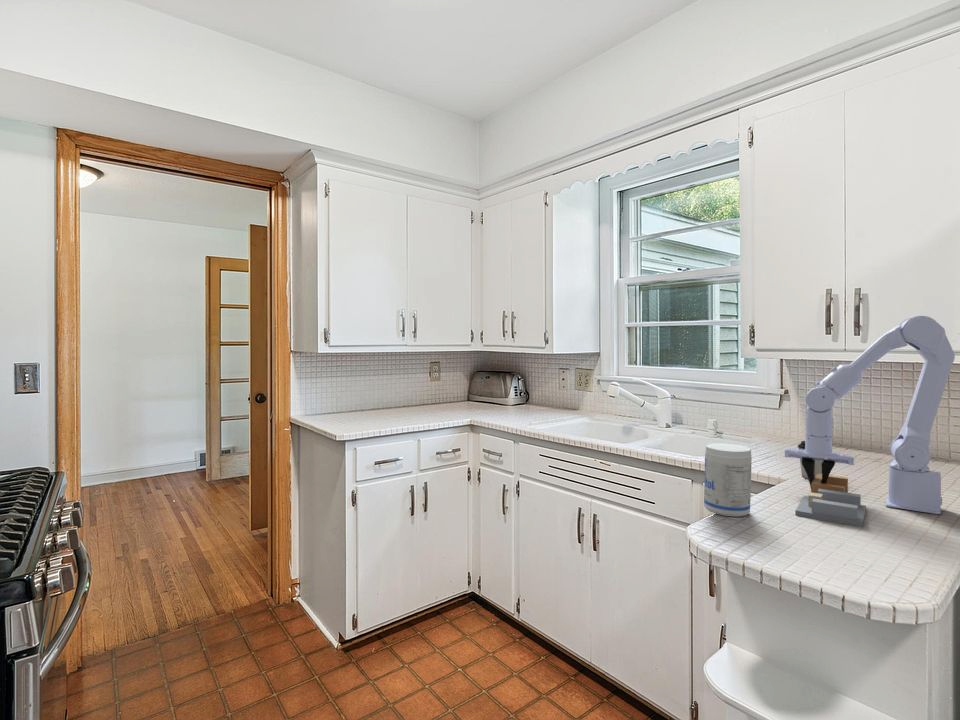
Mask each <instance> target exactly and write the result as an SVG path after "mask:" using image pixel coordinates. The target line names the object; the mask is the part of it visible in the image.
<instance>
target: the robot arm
mask: <svg viewBox="0 0 960 720" xmlns="http://www.w3.org/2000/svg"><path fill="white" fill-rule="evenodd" d="M946 333H947V332H946V330H945V327H943V326H942V325H941V324H940V323H939V322H937V320H935V319H934V318H932V317H931V316H927V315H917V316H913V317H910V318H907V319H904V320H903V321H902V322H901V323H899V325H895V326H894V327H893V328H891V329H889V330H888V331H886V332H885V333H884V334H882V335H881V336H880V337H879V338H877V339H876V340H875V341H874V342H873V343H872V344H871V345H869V347H868V348H866V349H865V350H864V351H863V352H862V353H861V354H860V355H858V356H857V358H855V359H854V360H853V361H852V362H851V363H850V364H849V363H848V364H839V365H838V366H832V368H831V369H830V371H831V372H830V373H829V374H828V375H827V376H826V377H824V378H823V379H821V381H816V382H815V385H816V386H817V387H813V388H811V389H810V390H809V391H807V392H806V396H805V397H804V400H805V403H806V405H807V407H806V409H805V414H806V416H805V427H804V428H805V429H804V430H805V432H804V433H805V435H804V441H805V450H799V449H793V448H792V449H791V448H785V449H784V458H792V459H793V458H794V459H795V458H796V459H800V458H801V459H802V461H801V463H802V465H803V467H804V469H805V471H806V473H807V476H808V481H809V485H810V487H809V489H811V483H812V481H813V480H814V478H815V476H814V471H815V460H818V461H823V462H822V484H826V483H827V479H828V477H829V475H831V472H832V471H833V470H834V469H833V468H834V467H835V466H836V464H837V463H838V464H843V465H844V464H847V465H848V466H849V465H850V466H854V465H855V455H849V454H842V453H836V452H833V434H834V433H833V432H834V431H833V429H834V427H833V426H834V425H833V424H834V422H833V421H834V418H833V417H832V416H833V415H832V408H833V407H834V406H835V400H840V399H841V398H843V397H844V396H845V395H846V394H848V393H849V392H850V391H851V390H852V389H854V388H855V387H856V386H857V385H859V384H860V383H861V382H862V373H864V371H866V370H867V369H869V368H870V367H871V366H873V365H874V364H875V363H876V362H878V361H879V360H880V359H882V358H883V357H884V356H886V354H887V353H889V352H890V351H892V350H895V349H896V350H897V349H901V348H904V347H908V345H909V346H910V347H912V348H914V349H915V351H916V352H918V354H919V355H920V357H922V358H923V359H924V361H923V365H922V368H921V371H920V374H919V378H918V380H917V382H916V386H915V390H914V392H913V395H912V398H911V399H912V400H911V401H910V405H909V408H908V411H907V415H906V416H905V417H906V418H905V420H904V423H903V425H902V427H901V429H899V433H898V436H897V437H896V438H895V439H893V440H892V442H891V443H890V445H889V453H890V455H891V457H893V460H892V461H891V462H890V463H888V496H886V499H885V500H886V501H885V507H888V508H895V509H903V510H909V511H915V512H923V513H928V514H935V515H941V514H942V513H941V506H942V505H943V497H942V495H941V494H942V475H941V472H940V471H934V470H930V467H929V466H928V465H929V463H930V462H931V454H930V450H929V449H930V448H929V446H930V444H931V431H932V428H933V425H934V422H935V419H936V415H937V413H938V409H939V408H940V405H941V404H940V403H941V402H942V398H943V396H944V391H945V389H946V386H947V382H948V379H949V376H950V375H951V374H950V373H951V370H952V367H953V364H954V361H955V358H956V357H955V356H956V354H955V352H954V350H953V348H952V346H951V343H950V341H949V339H948V336H947V334H946ZM813 457H814V458H813ZM822 458H824V459H822Z"/></svg>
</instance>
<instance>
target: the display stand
mask: <svg viewBox="0 0 960 720" xmlns="http://www.w3.org/2000/svg"><path fill="white" fill-rule="evenodd" d="M861 495H862V494H858V493H852V492H848V493H847V492H840V491H833V490H826V489H818V493H812V492H811V491H810V492H809V493H808V496H806V495H804V496H803V497H802V499H801V501H800V502H799V504H798V505H797V507H796V508H795V516H799V517H804V518H811V519H816V520H817V519H818V520H820V521H821V520H822V521H828V522H835V523H840V524H845V525H852V526H854V527H855V526H856V527H861V528H863V527H864V522H865V516H866V512H867V511H866V510H867V505H864V504H861V500H862V499H861V497H862V496H861Z"/></svg>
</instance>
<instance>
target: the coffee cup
mask: <svg viewBox="0 0 960 720" xmlns="http://www.w3.org/2000/svg"><path fill="white" fill-rule="evenodd" d="M797 448H798V450H805V440H801V442H800V443H798V444H797ZM813 458H814V457H813ZM822 459H824V458H822ZM801 461H802V459H801V458H799V463H800V473H801V477H802V478H804V479H808V476H807V473H806V471H805V469H804V467H803V465H802V463H801ZM822 462H823V461H818V460H815V471H814V476H815V477H816V475H817V474H822ZM808 480H809V479H808Z"/></svg>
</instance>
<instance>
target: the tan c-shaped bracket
mask: <svg viewBox="0 0 960 720" xmlns="http://www.w3.org/2000/svg"><path fill="white" fill-rule="evenodd" d="M818 489H826V490H833V491H840V492H847V493H849V477H844V476H837V475H836V476H835V475H831V474H829V477H828V479H827V483H826V484H822V474H817V475H816V477H815V478H814V480H813V481H812V483H811V488H810V492H812V493H818Z"/></svg>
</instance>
